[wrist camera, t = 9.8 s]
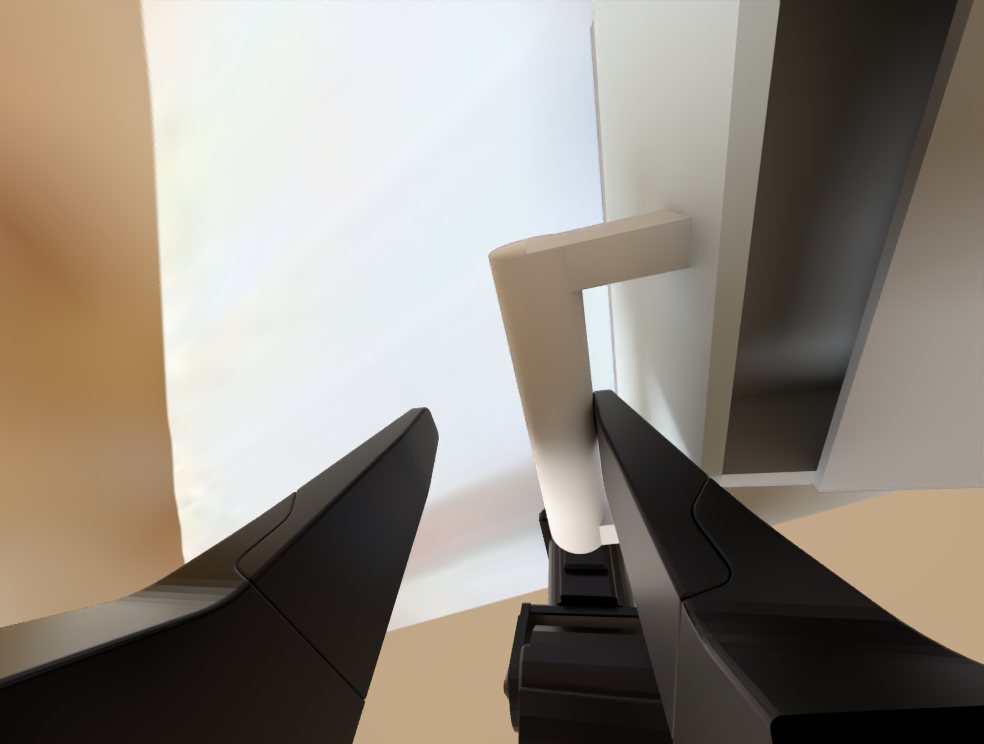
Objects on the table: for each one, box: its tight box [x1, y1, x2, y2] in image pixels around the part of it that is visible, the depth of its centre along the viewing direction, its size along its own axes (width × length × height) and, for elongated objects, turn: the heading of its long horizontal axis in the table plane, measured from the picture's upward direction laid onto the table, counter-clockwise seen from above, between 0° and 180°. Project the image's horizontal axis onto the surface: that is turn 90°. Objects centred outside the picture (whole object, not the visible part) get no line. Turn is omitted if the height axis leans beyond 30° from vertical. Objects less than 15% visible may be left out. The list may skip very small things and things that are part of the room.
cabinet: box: [591, 0, 984, 492], centre depth 13 cm, size 18×14×6 cm
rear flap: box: [488, 0, 780, 554], centre depth 10 cm, size 18×7×4 cm
